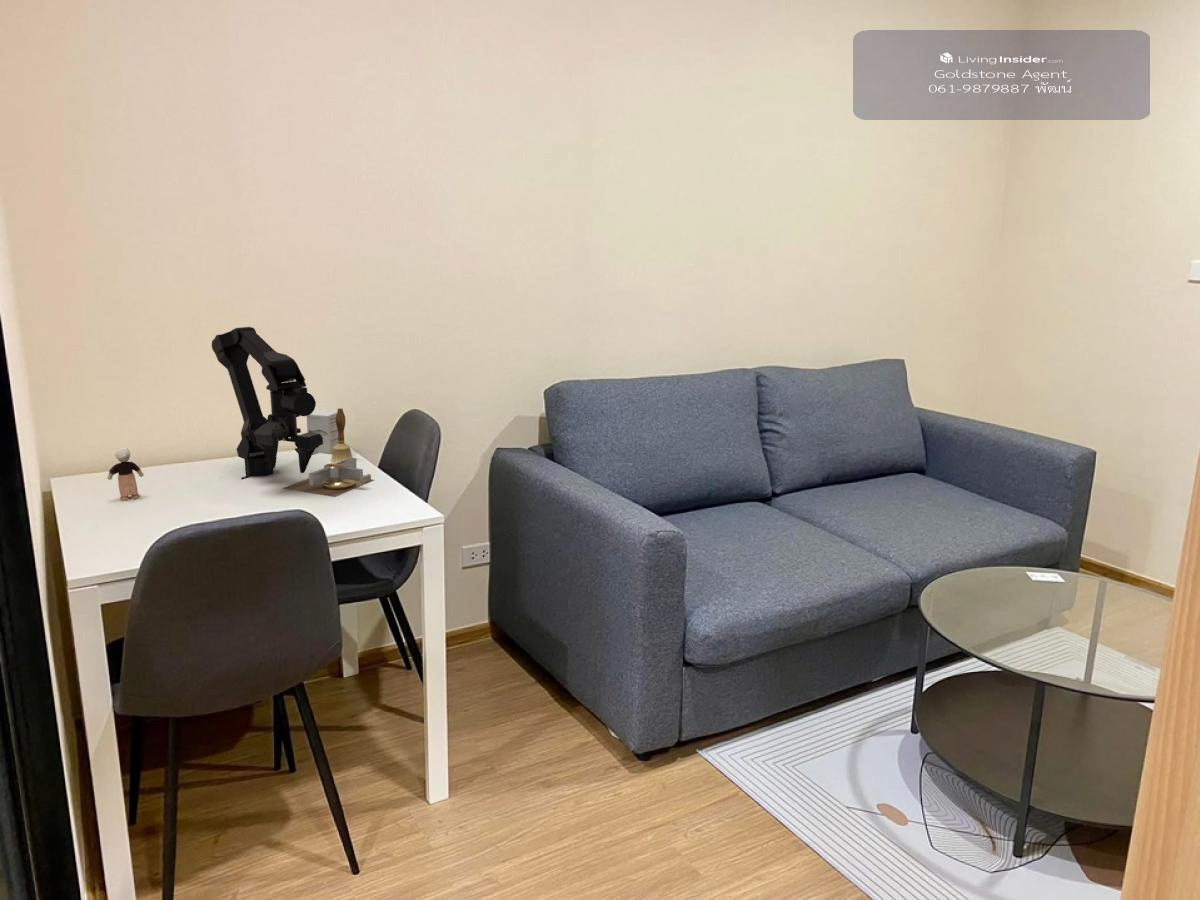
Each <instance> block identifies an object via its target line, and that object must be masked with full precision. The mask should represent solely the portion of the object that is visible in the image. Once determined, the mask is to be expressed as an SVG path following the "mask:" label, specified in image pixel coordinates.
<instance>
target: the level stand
mask: <svg viewBox="0 0 1200 900" xmlns="http://www.w3.org/2000/svg"><path fill="white" fill-rule="evenodd" d="M371 474H372V473H371ZM371 474H370V473H368V474H365V475H364V474H363V480H362V481H355V485H354V486H352V487H349V488H344V489H328V488H324V487H323V486H322V482H321V483H318V484H316V485H309V477H308V478H306V479H302V480H300V481H298V482H295V483H292V484H290V485H288V486H284V487H282V490H283V489H284V490H290V491H296V492H301V493H302V492H303V493H310V494H313V495H320V496H326V497H333V498H336V497H338V496H341V495H343V494H346V493H348V492H350V491H352V490H355V489H357V488H360V487H361V486H364V485H367V484H370V483H371V482H374V481H375V479H372V475H371Z"/></svg>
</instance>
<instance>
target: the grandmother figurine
mask: <svg viewBox="0 0 1200 900" xmlns="http://www.w3.org/2000/svg"><path fill="white" fill-rule="evenodd" d="M114 456H115V459H117V460H118V461H119V463H116V464H114V465H113V466H112V467H110V470H108V471H109V472H108V475H107V480H110V481H111V480H113V476H114V475H117V474H118V475H117V481H118V490H119V494H120V495H119V496H120V497H119V500H121V501H129V500H130V498H131V499H132V500H135V499H136V500H137V499H139V498H140V497H141V494H139V490H138V484H137V480H136V475H135V473H134V472H136V474H138V476H139V477H140V478H142V477H144V472H143V470H141V468H140V467H139V465H137V464H136V463H135V462H133V461H129V460H130V457H131V451H130V449H129V448H128V447H120V448H117V450H116V452H115V455H114ZM129 496H130V497H129Z"/></svg>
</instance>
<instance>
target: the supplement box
mask: <svg viewBox="0 0 1200 900" xmlns="http://www.w3.org/2000/svg"><path fill="white" fill-rule="evenodd" d="M337 411H338V410H334V409H333V410H332V409H323V408H320V409H316V410H315V409H314V411H313V412H312V413H311V414H310V415H308V416H306V428H307V431H306V433H308V432H312V433H319V434H321V435H322V437H323V444H322V445H319V447H318V448H316V449H315V450H314V452H313V454H312V456H314V455H318V454H326V455H331V456H332V454H333V447H334V446H336V445H337V444H338V429H337V426H336V414H337Z"/></svg>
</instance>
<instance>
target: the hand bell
mask: <svg viewBox="0 0 1200 900" xmlns="http://www.w3.org/2000/svg"><path fill="white" fill-rule="evenodd" d="M336 411H337V414H336V426H337V429H338V444H337V445H336V446H334V447H333V454H332V455H331V459H330V460H329V461H330V462H331V463H339V462H342V461H344V460H347V459H350V458H354V457H353V455H352V452H351V447H350V445H348V444H346V443H345V427H346V415H345V413H344V410H343V408H339V407H338V408H337V410H336Z"/></svg>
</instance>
